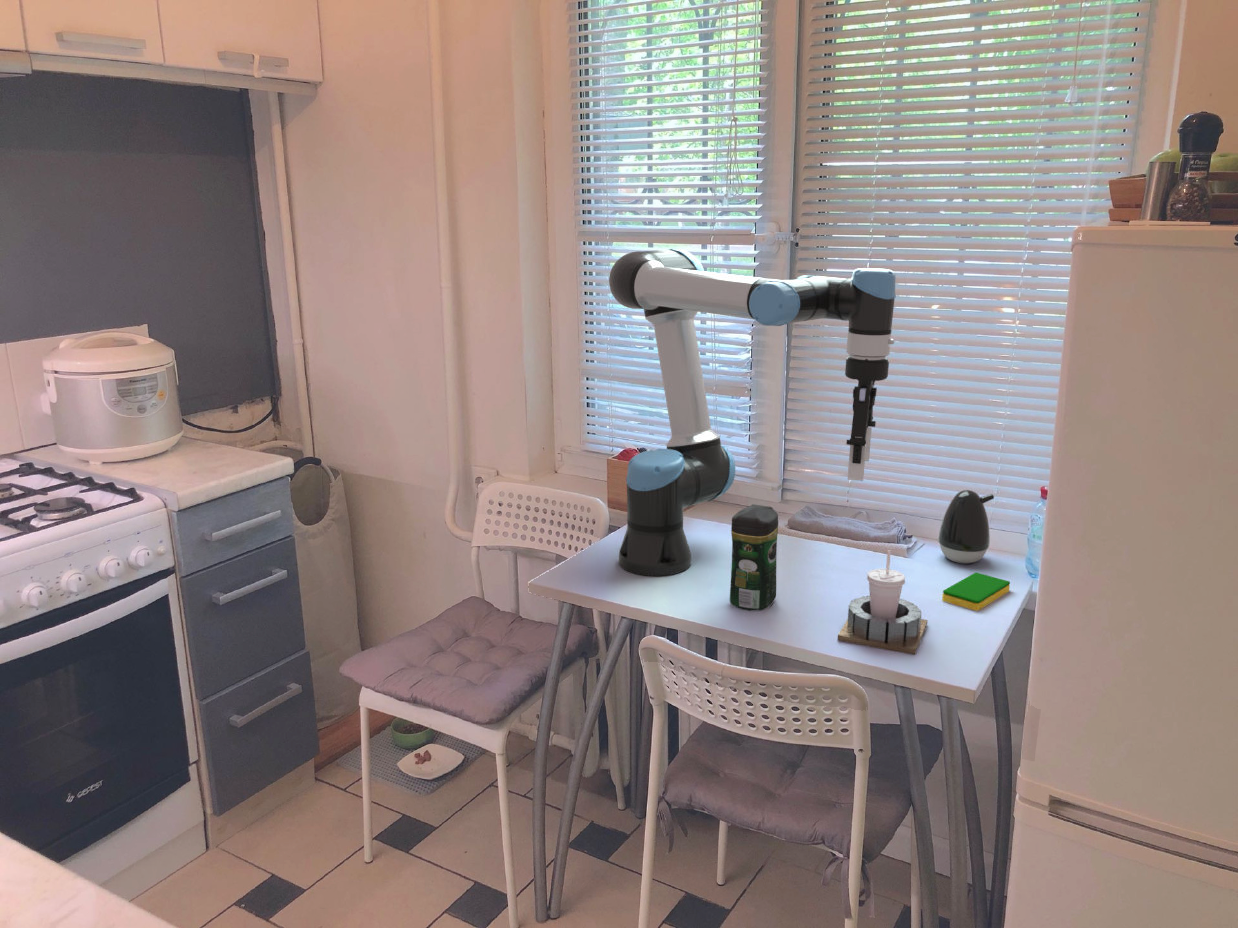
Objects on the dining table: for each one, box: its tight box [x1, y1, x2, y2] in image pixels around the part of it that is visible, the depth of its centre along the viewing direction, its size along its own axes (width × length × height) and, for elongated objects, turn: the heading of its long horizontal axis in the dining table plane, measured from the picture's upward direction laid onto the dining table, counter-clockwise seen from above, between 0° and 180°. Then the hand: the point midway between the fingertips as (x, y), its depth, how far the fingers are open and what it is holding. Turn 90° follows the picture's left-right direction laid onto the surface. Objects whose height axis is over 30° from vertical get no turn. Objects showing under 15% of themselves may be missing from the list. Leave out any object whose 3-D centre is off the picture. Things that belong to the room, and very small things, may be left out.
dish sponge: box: [942, 572, 1011, 612], centre depth 185 cm, size 7×14×2 cm, turn 135°
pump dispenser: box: [937, 489, 995, 564], centre depth 202 cm, size 10×10×15 cm
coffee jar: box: [729, 504, 779, 612], centre depth 180 cm, size 10×8×19 cm
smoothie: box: [866, 549, 906, 619], centre depth 168 cm, size 6×6×14 cm
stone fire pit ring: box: [837, 595, 929, 656], centre depth 169 cm, size 13×13×4 cm
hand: (858, 469), depth 179 cm, fingers open, 13 cm apart
